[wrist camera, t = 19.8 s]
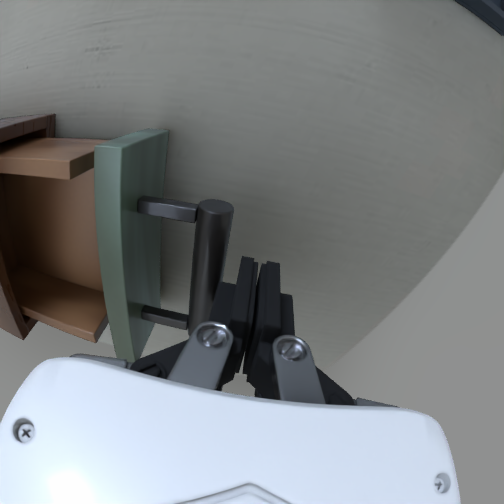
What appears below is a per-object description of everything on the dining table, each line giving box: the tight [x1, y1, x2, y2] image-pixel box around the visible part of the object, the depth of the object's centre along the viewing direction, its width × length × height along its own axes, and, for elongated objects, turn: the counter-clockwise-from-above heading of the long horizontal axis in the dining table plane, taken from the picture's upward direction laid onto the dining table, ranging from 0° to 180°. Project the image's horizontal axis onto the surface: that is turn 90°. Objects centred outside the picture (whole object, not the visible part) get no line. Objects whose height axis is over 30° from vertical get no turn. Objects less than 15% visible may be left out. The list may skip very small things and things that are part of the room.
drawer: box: [0, 128, 234, 363], centre depth 13 cm, size 16×11×5 cm
